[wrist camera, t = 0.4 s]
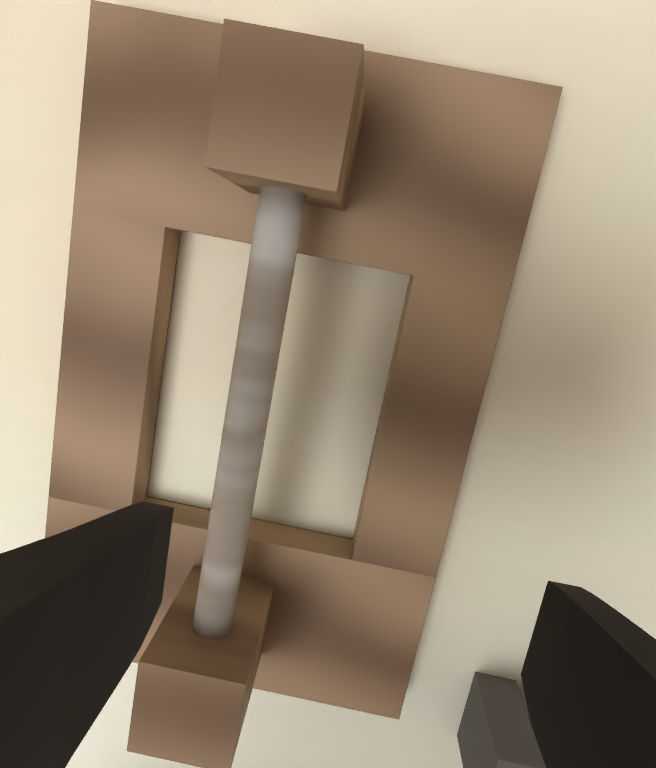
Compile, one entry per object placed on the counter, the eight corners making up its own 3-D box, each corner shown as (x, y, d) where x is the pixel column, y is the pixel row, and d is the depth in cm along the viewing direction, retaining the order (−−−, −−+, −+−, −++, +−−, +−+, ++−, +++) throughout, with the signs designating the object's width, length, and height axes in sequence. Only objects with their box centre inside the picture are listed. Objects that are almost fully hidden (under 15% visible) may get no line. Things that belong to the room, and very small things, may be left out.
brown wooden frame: (396, 689, 23) (408, 856, 16) (57, 616, 23) (-61, 752, 17) (546, 101, 18) (645, 12, 11) (113, 21, 18) (-24, -109, 12)
